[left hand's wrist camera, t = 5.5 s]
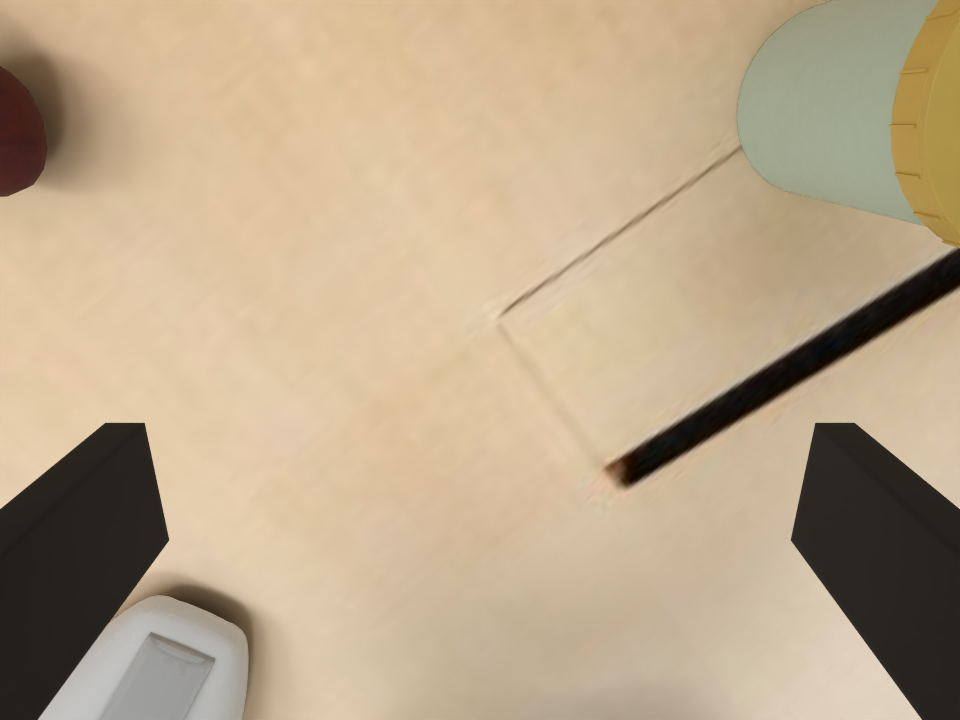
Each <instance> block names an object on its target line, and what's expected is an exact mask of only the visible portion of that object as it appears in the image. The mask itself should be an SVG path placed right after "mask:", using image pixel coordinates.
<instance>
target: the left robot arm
mask: <svg viewBox="0 0 960 720" xmlns="http://www.w3.org/2000/svg"><path fill="white" fill-rule="evenodd" d="M168 541H169V537H168V532H167V527H166V523H165V518H164V513H163V508H162V504H161V499H160V494H159V489H158V485H157V480H156V475H155V470H154V465H153V461H152V456H151V451H150V446H149V442H148V437H147V432H146V427H145V423H105V424H104V425H102V426H101V427H100V428H99V429H97V430H96V431H95V432H94V433H93V434H91V435H90V436H89V437H88V438H86V439H85V440H84V441H83V442H82V443H80V444H79V445H78V446H77V447H76V448H74V449H73V450H72V451H71V452H69V453H68V454H67V455H66V456H65V457H63V458H62V459H61V460H60V461H58V462H57V463H56V464H55V465H54V466H52V467H51V468H50V469H49V470H47V471H46V472H45V473H44V474H43V475H41V476H40V477H39V478H38V479H37V480H35V481H34V482H33V483H32V484H30V485H29V486H28V487H27V488H26V489H24V490H23V491H22V492H21V493H19V494H18V495H17V496H16V497H15V498H13V499H12V500H11V501H10V502H9V503H7V504H6V505H5V506H4V507H2V508H1V509H0V720H38V719H39V717H40V716H41V715H42V713H43V712H44V711H45V709H46V708H47V707H48V705H49V704H50V702H51V701H52V700H53V698H54V697H55V696H56V694H57V693H58V692H59V690H60V689H61V687H62V686H63V685H64V683H65V682H66V681H67V679H68V678H69V676H70V675H71V674H72V672H73V671H74V670H75V668H76V667H77V666H78V664H79V663H80V661H81V660H82V659H83V657H84V656H85V655H86V653H87V652H88V651H89V649H90V648H91V646H92V645H93V644H94V642H95V641H96V640H97V638H98V637H99V635H100V634H101V633H102V631H103V630H104V629H105V627H106V626H107V625H108V623H109V622H110V620H111V619H112V618H113V616H114V615H115V614H116V612H117V611H118V610H119V608H120V607H121V605H122V604H123V603H124V601H125V600H126V599H127V597H128V596H129V594H130V593H131V592H132V590H133V589H134V588H135V586H136V585H137V584H138V582H139V581H140V579H141V578H142V577H143V575H144V574H145V573H146V571H147V570H148V569H149V567H150V566H151V564H152V563H153V562H154V560H155V559H156V558H157V556H158V555H159V553H160V552H161V551H162V549H163V548H164V547H165V545H166V544H167V543H168ZM791 541H792V543H793V544H794V545H795V547H796V548H797V549H798V551H799V552H800V553H801V555H802V556H803V558H804V559H805V560H806V562H807V563H808V564H809V566H810V567H811V569H812V570H813V571H814V573H815V574H816V575H817V577H818V578H819V579H820V581H821V582H822V584H823V585H824V586H825V588H826V589H827V590H828V592H829V593H830V594H831V596H832V597H833V599H834V600H835V601H836V603H837V604H838V605H839V607H840V608H841V610H842V611H843V612H844V614H845V615H846V616H847V618H848V619H849V620H850V622H851V623H852V625H853V626H854V627H855V629H856V630H857V631H858V633H859V634H860V635H861V637H862V638H863V640H864V641H865V642H866V644H867V645H868V646H869V648H870V649H871V651H872V652H873V653H874V655H875V656H876V657H877V659H878V660H879V661H880V663H881V664H882V666H883V667H884V668H885V670H886V671H887V672H888V674H889V675H890V676H891V678H892V679H893V681H894V682H895V683H896V685H897V686H898V687H899V689H900V690H901V692H902V693H903V694H904V696H905V697H906V698H907V700H908V701H909V702H910V704H911V705H912V707H913V708H914V709H915V711H916V712H917V713H918V715H919V716H920V717H921V719H922V720H960V509H959V508H958V507H956V506H955V505H954V504H953V503H951V502H950V501H949V500H948V499H947V498H945V497H944V496H943V495H942V494H941V493H939V492H938V491H937V490H936V489H934V488H933V487H932V486H931V485H930V484H928V483H927V482H926V481H925V480H923V479H922V478H921V477H920V476H919V475H917V474H916V473H915V472H914V471H913V470H911V469H910V468H909V467H908V466H906V465H905V464H904V463H903V462H902V461H900V460H899V459H898V458H897V457H895V456H894V455H893V454H892V453H891V452H889V451H888V450H887V449H886V448H884V447H883V446H882V445H881V444H880V443H878V442H877V441H876V440H875V439H874V438H872V437H871V436H870V435H869V434H867V433H866V432H865V431H864V430H863V429H861V428H860V427H859V426H858V425H856V424H855V423H815V427H814V432H813V437H812V442H811V446H810V451H809V456H808V461H807V465H806V470H805V475H804V480H803V485H802V489H801V494H800V499H799V504H798V508H797V513H796V518H795V523H794V527H793V532H792V537H791Z"/></svg>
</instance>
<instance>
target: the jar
mask: <svg viewBox="0 0 960 720" xmlns="http://www.w3.org/2000/svg"><path fill="white" fill-rule="evenodd" d="M938 2H939V0H833V1H830V2H827V3H824V4H821V5H818V6H815V7H812V8H810V9H808V10H806V11H803V12H801V13H800V14H798V15H796V16H795V17H793V18H791V19H790V20H788V21H787V22H786V23H785V24H783V25H782V26H781V27H780V28H778V29H777V30H776V31H775V32H774V33H773V34H772V35H771V36H770V37H769V38H768V39H767V41H766V42H765V43H764V44H763V46H762V47H761V48H760V49H759V51H758V53H757V54H756V56H755V57H754V59H753V60H752V62H751V64H750V66H749V68H748V70H747V72H746V75H745V78H744V80H743V83H742V86H741V90H740V94H739V99H738V107H737V126H738V134H739V138H740V142H741V146H742V148H743V151H744V153H745V155H746V157H747V159H748V161H749V162H750V164H751V165H752V167H753V168H754V169H755V170H756V172H757V173H758V174H759V175H760V176H761V177H763V178H764V179H765V180H766V181H767V182H769V183H770V184H772V185H774V186H775V187H777V188H779V189H782V190H784V191H787V192H790V193H794V194H798V195H802V196H806V197H810V198H814V199H818V200H822V201H826V202H830V203H834V204H838V205H842V206H846V207H850V208H854V209H858V210H862V211H866V212H870V213H874V214H878V215H882V216H886V217H890V218H894V219H898V220H902V221H907V222H911V223H915V224H919V225H923V226H926V225H925V224H924V223H923V222H922V221H921V220H920V218H919V217H918V216H915V215H913V212H914V211H913V209H912V208H911V206H910V205H909V203H908V201H907V199H906V197H905V195H904V194H903V192H902V189H901V186H900V184H899V181H898V178H897V176H895V175H894V173H896V172H895V167H894V161H893V157H892V146H891V128H889V126H890V124H891V122H892V109H893V104H894V99H895V94H896V89H897V85H898V82H899V79H900V76H901V74H899V73H900V71H901V70H902V69H903V66H904V63H905V61H906V58H907V56H908V54H909V52H910V49H911V47H912V45H913V43H914V40H915V38H916V37H917V35H918V33H919V31H920V30H921V28H922V26H923V24H924V23H925V21H926V19H925V17H926V16H927V15H929V14H930V13H931V11H932V10H933V9H934V7H935V6H936V4H937V3H938Z"/></svg>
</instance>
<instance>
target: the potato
mask: <svg viewBox="0 0 960 720" xmlns="http://www.w3.org/2000/svg"><path fill="white" fill-rule="evenodd" d="M46 152H47V143H46V138H45V132H44V127H43V121H42V117H41V115H40V113H39V111H38V109H37V107H36V105H35V103H34V101H33V99H32V97H31V95H30V93H29V91H28V90H27V89H26V88H25V87H24V86H23V85H22V84H21V83H20V82H19V81H18V80H17V79H16V78H15V77H14V76H13V75H12V74H11V73H10V72H8V71H7V70H5V69H4V68H2V67H1V66H0V197H4V196H9V195H12V194H14V193H16V192H19V191H21V190H23V189H26V188H28V187H30V186H32V185H33V184H34V183H35V182H36V180H37V178H38V177H39V175H40V174H41V172H42V171H43V169H44V165H45V158H46Z"/></svg>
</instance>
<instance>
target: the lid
mask: <svg viewBox="0 0 960 720" xmlns="http://www.w3.org/2000/svg"><path fill="white" fill-rule="evenodd" d="M925 19H926V21H925V23H924V24H923V26H922V28H921V30H920V31H919V33H918V35H917V37H916V38H915V40H914V43H913V45H912V47H911V49H910V52H909V54H908V56H907V58H906V61H905V63H904V66H903V69H902V70H901V71H900V73H899V74H901V76H900V79H899V82H898V85H897V89H896V94H895V99H894V104H893V109H892V122H891V124H890V126H889V128H891V146H892V157H893V161H894V167H895V172H896V173H894V175H895V176H897V178H898V181H899V184H900V186H901V189H902V192H903V194H904V195H905V197H906V199H907V201H908V203H909V205H910V206H911V208H912V209H913V211H914V212H913V215H915V216H918V217H919V218H920V220H921V221H922V222H923V223H924V224H925V225H926V226H927V227H928V228H929V229H930V230H931V231H932V232H934V233H935V234H936V235H937V236H939V237H940V238H942V239H943V241H942V242H943V243H946V244H949V245H953V246H956V247H958V248H960V0H939V2H938V3H937V4H936V6H935V7H934V9H933V10H932V11H931V13H930V14H929V15H927V16H926V17H925Z"/></svg>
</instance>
